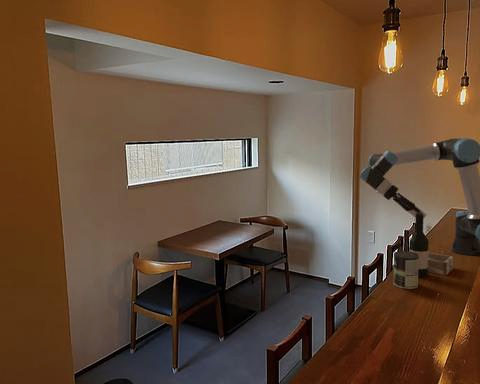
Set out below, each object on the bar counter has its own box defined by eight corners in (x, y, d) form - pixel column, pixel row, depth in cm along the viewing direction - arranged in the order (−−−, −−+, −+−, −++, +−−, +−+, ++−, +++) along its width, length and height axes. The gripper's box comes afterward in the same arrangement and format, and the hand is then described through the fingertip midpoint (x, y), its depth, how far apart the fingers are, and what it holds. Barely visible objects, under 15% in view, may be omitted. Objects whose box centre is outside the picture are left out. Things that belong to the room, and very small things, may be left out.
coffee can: (392, 287, 174) (392, 256, 172) (394, 279, 183) (394, 250, 181) (417, 290, 169) (418, 258, 167) (418, 282, 178) (419, 252, 176)
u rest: (427, 263, 203) (427, 252, 202) (453, 268, 194) (453, 256, 194) (418, 270, 194) (418, 258, 193) (445, 275, 185) (446, 262, 185)
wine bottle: (430, 278, 183) (431, 214, 179) (410, 277, 184) (412, 214, 180) (425, 272, 191) (426, 211, 187) (407, 271, 192) (408, 211, 188)
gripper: (381, 197, 211) (414, 224, 205) (384, 192, 188) (421, 222, 182) (390, 187, 211) (424, 213, 205) (394, 180, 187) (432, 210, 181)
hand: (422, 217), depth 193 cm, fingers open, 13 cm apart
